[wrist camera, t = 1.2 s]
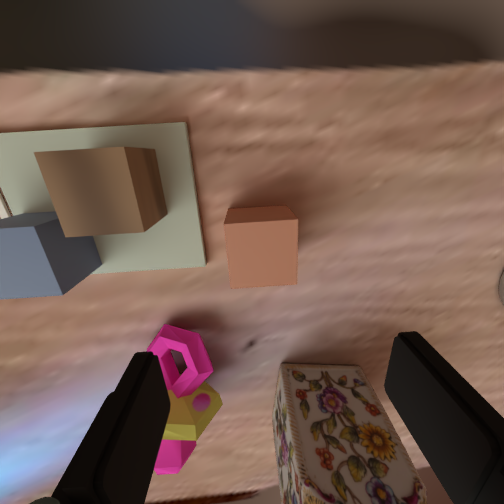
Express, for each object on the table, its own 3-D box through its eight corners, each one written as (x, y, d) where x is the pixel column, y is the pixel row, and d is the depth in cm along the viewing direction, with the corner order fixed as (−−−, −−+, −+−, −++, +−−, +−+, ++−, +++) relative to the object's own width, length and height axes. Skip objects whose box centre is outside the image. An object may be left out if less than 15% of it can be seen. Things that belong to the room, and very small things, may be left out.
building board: (186, 123, 21) (184, 121, 21) (206, 263, 27) (205, 266, 26) (-14, 135, 21) (-24, 134, 20) (46, 273, 26) (40, 277, 26)
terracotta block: (285, 204, 25) (298, 219, 19) (286, 257, 27) (297, 284, 21) (228, 208, 24) (223, 224, 19) (233, 261, 27) (230, 288, 21)
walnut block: (155, 149, 21) (123, 146, 16) (167, 214, 24) (144, 232, 18) (88, 153, 21) (33, 152, 16) (107, 218, 24) (65, 237, 18)
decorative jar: (279, 360, 33) (316, 574, 16) (361, 362, 33) (479, 570, 17) (270, 417, 37) (292, 631, 20) (342, 418, 38) (421, 627, 21)
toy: (237, 323, 31) (191, 361, 21) (224, 449, 33) (176, 538, 23) (174, 308, 34) (109, 334, 25) (165, 422, 36) (101, 489, 26)
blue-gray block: (84, 209, 23) (33, 226, 18) (102, 264, 25) (62, 295, 20) (22, 213, 23) (-48, 231, 18) (46, 268, 25) (-9, 299, 20)
